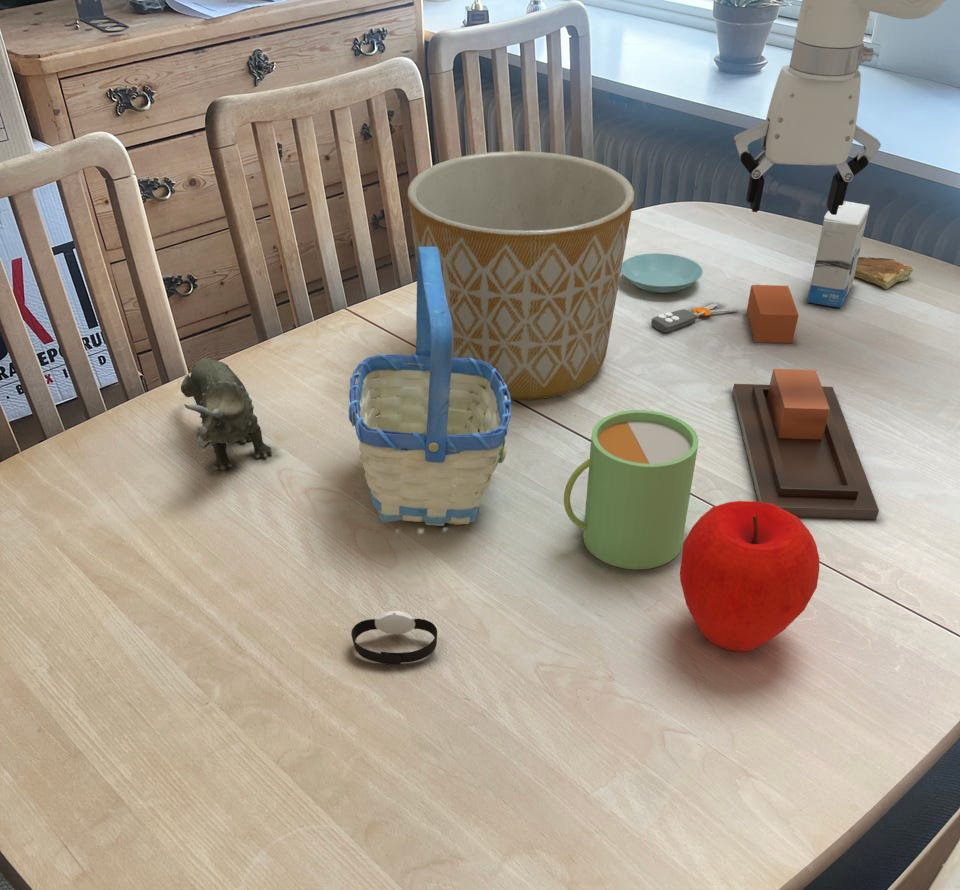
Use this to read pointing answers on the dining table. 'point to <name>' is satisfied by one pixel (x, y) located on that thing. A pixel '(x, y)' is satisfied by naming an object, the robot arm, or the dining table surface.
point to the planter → (527, 261)
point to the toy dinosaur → (222, 410)
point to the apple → (747, 572)
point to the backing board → (802, 448)
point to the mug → (636, 488)
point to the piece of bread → (882, 271)
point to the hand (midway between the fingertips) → (792, 209)
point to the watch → (394, 625)
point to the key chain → (683, 317)
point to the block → (772, 314)
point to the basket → (429, 418)
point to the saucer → (661, 272)
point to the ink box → (838, 254)
